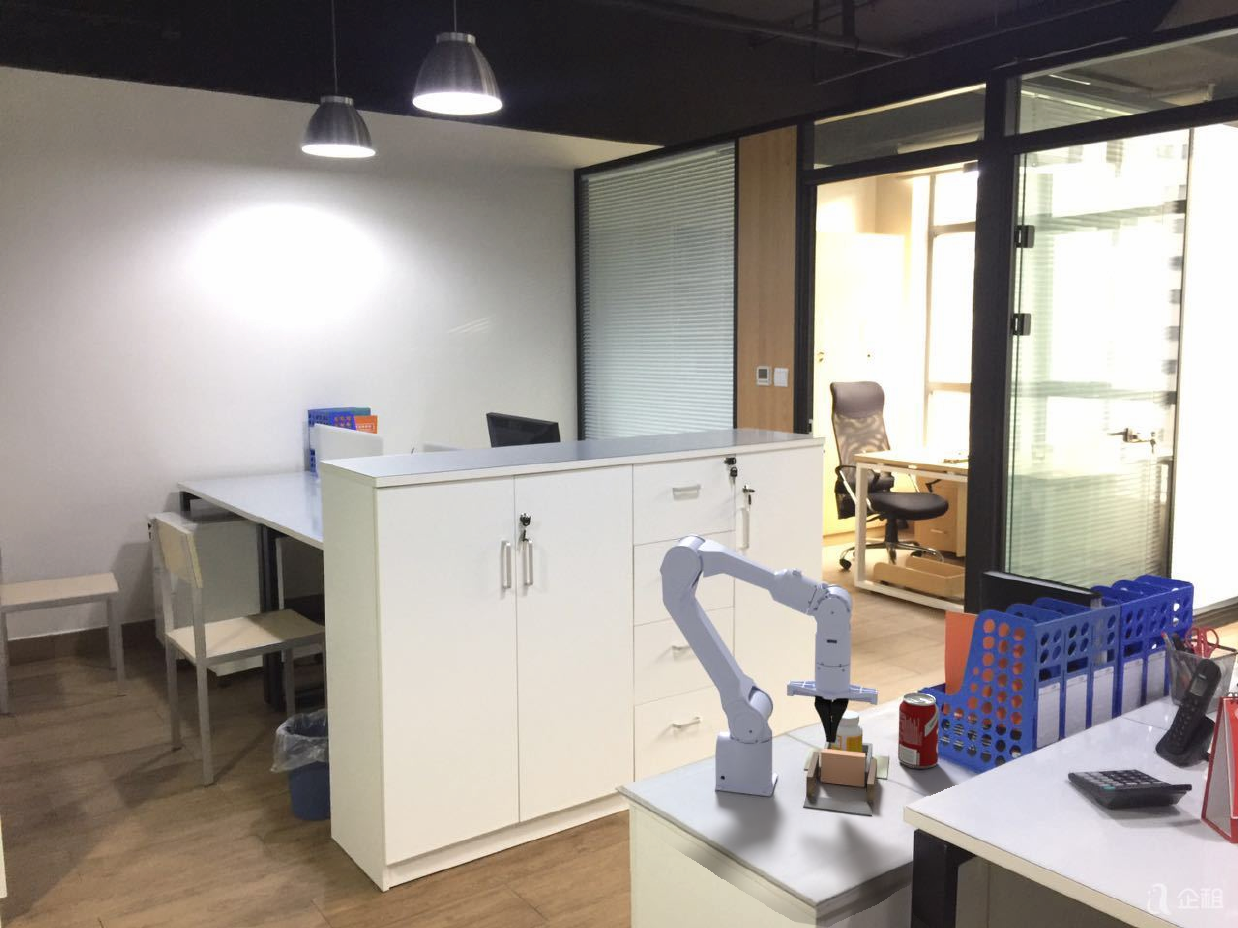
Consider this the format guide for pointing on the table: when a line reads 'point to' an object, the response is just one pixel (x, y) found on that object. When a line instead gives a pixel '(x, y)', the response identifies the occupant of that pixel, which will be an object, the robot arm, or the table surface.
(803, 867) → the table surface
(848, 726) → the supplement bottle
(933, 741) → the soda can
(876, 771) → the track
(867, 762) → the box
